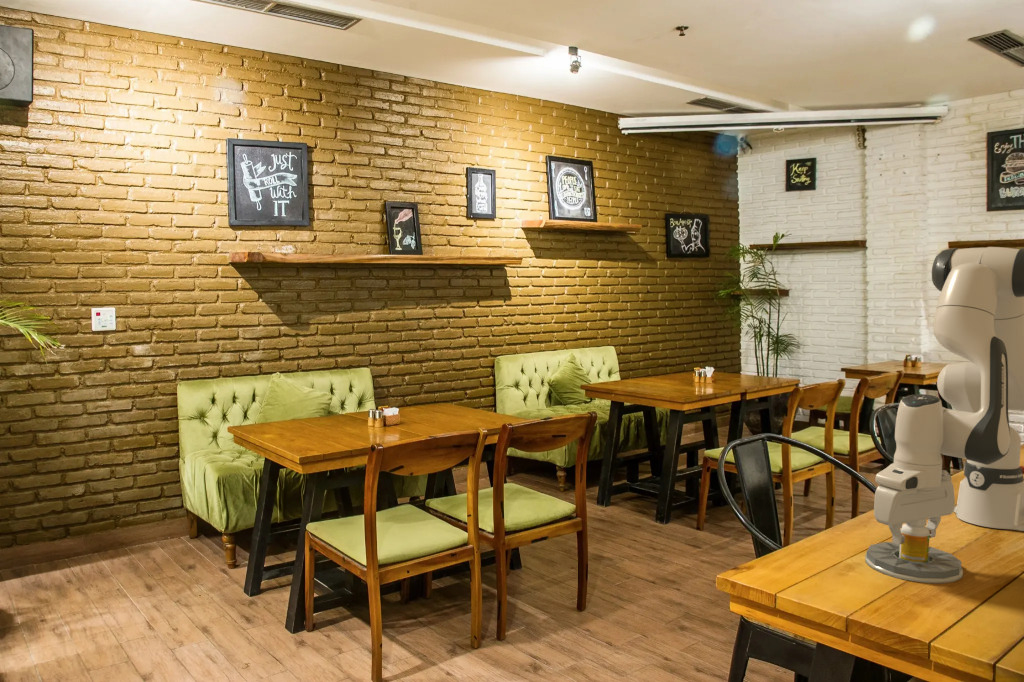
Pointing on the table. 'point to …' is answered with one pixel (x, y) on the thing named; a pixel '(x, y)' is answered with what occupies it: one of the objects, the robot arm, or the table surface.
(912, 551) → the supplement bottle
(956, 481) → the table surface
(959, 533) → the table surface
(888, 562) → the grey faceted round plate
